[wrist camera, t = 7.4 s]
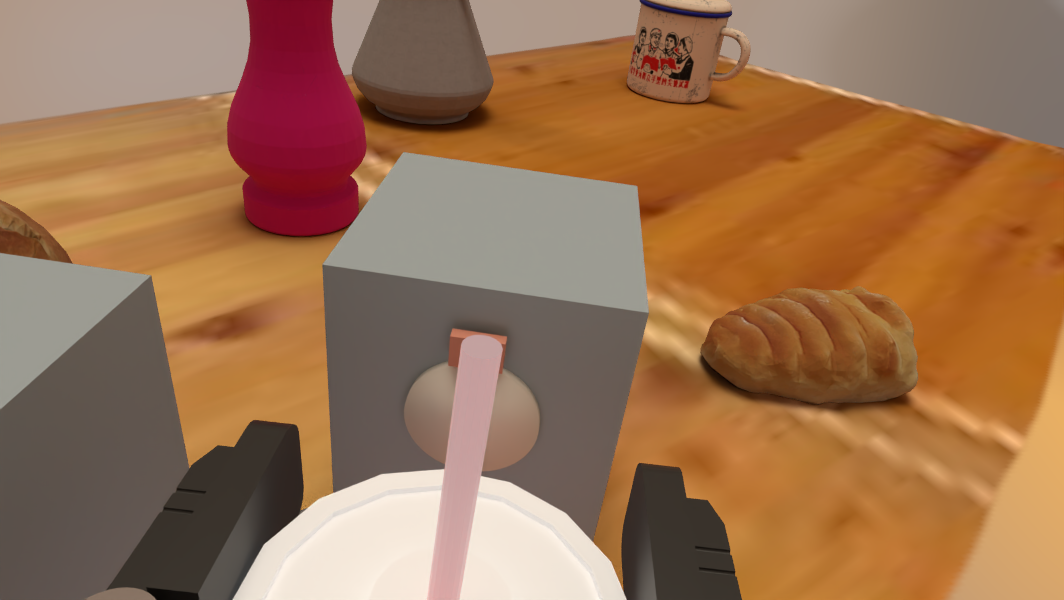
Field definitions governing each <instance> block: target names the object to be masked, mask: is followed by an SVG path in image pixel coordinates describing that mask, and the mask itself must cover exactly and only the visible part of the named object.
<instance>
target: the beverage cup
mask: <svg viewBox="0 0 1064 600" xmlns="http://www.w3.org/2000/svg"><path fill="white" fill-rule="evenodd" d="M502 350H503V348H502V345H501V343H500V342H498V341H497V340H496V339H494V338H492V337H490V336H486V335H472V336H469V337H467V338H465V339H464V340H463V341H462V344H461V350H460V357H459V365H458V372H457V379H456V387H455V394H454V402H453V409H452V417H451V424H450V432H449V439H448V447H447V454H446V462H445V469H440V470H427V471H414V472H402V473H389V474H381V475H378V476H376V477H373V478H371V479H368V480H366V481H363V482H361V483H358V484H355V485H353V486H350V487H348V488H345V489H343V490H340V491H338V492H335V493H333V494H330V495H327V496H325V497H322V498H320V499H318V500H317V501H316V502H314V503H313V504H312V505H311V506H310V507H308V508H307V509H306V510H305V511H304V512H302V513H301V514H300V515H299V516H298V517H296V518H295V519H294V520H293V521H292V522H290V523H289V524H288V525H287V526H286V527H284V528H283V529H282V530H281V531H280V532H278V533H277V534H276V535H275V536H274V537H272V538H271V539H270V540H269V541H268V542H266V543H265V544H264V545H263V547H262V549H261V551H260V552H259V554H258V556H257V558H256V559H255V561H254V563H253V565H252V566H251V568H250V570H249V572H248V573H247V575H246V577H245V579H244V581H243V582H242V584H241V586H240V588H239V589H238V591H237V593H236V595H235V596H234V598H233V600H627V599H626V597H625V594H624V592H623V590H622V587H621V585H620V582H619V580H618V578H617V575H616V573H615V570H614V568H613V566H612V563H611V561H610V560H609V559H608V558H607V557H606V556H605V555H604V554H603V553H602V552H601V550H600V549H599V548H598V547H597V546H596V545H595V544H594V543H593V542H592V541H591V540H590V539H589V538H588V536H587V535H586V534H585V533H584V532H583V531H582V530H581V529H580V528H579V527H578V526H577V525H576V524H575V522H574V521H573V520H572V519H571V518H570V517H569V516H568V515H567V514H566V513H565V512H563V511H561V510H559V509H557V508H556V507H554V506H552V505H550V504H548V503H547V502H545V501H543V500H541V499H539V498H538V497H536V496H534V495H532V494H530V493H528V492H527V491H525V490H523V489H521V488H519V487H518V486H516V485H514V484H512V483H510V482H506V481H502V480H497V479H492V478H488V477H483V476H481V472H482V467H483V461H484V455H485V449H486V443H487V437H488V432H489V426H490V420H491V414H492V408H493V403H494V397H495V391H496V385H497V379H498V374H499V368H500V362H501V356H502Z"/></svg>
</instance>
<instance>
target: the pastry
mask: <svg viewBox="0 0 1064 600" xmlns="http://www.w3.org/2000/svg"><path fill="white" fill-rule="evenodd" d="M913 336H914V330H913V326H912V323H911V322H910V320H909V318H908V317H907V316H906V314H905V313H904V311H903V310H902V309H901V308H900V307H899V306H898V305H897V304H896V303H895V302H894V301H893V300H892V299H891V298H889V297H887V296H885V295H881V294H874V293H870V292H868V291H867V290H866V289H865V288H862V287H859V286H858V287H855V288H853V289H852V290H841V291H836V290H817V289H805V288H795V289H787V290H784V291H782V292H781V293H779V294H778V295H775V296H772V297H769V298H765V299H762V300H759V301H757V302H756V303H753V304H748V305H745V306H743V307H741V308H739V309H737V310H734V311H730V312H728V313H727V314H726V315H725V316H724V317H722V318H718V319H716V320H715V321H714V322H713V323H712V325H711V327H710V329H709V332H708V335H707V338H706V340H705V342H704V343H703V344H702V347H701V354H702V355H703V356H704V358H705V360H706V361H707V362H708V364H709V365H710V366H711V367H712V368H713V369H714V370H716V371H717V372H718V373H719V374H721V375H722V376H723V377H724V378H726V379H727V380H728V381H730V382H731V383H733V384H734V385H735V386H737V387H739V388H741V389H744V390H747V391H748V392H753V393H769V394H774V395H777V396H781V397H785V398H791V399H796V400H799V401H802V402H806V403H810V404H818V405H819V404H821V403H823V402H831V403H842V402H855V403H863V402H875V401H885V400H887V399H891V398H896V397H899V396H900V395H902V394H905V393H907V392H910V391H911V390H912V389H913V388H914V387H915V386H916V384H917V380H918V373H917V370H916V362H917V358H918V357H917V353H916V350H915V347H914V344H913Z"/></svg>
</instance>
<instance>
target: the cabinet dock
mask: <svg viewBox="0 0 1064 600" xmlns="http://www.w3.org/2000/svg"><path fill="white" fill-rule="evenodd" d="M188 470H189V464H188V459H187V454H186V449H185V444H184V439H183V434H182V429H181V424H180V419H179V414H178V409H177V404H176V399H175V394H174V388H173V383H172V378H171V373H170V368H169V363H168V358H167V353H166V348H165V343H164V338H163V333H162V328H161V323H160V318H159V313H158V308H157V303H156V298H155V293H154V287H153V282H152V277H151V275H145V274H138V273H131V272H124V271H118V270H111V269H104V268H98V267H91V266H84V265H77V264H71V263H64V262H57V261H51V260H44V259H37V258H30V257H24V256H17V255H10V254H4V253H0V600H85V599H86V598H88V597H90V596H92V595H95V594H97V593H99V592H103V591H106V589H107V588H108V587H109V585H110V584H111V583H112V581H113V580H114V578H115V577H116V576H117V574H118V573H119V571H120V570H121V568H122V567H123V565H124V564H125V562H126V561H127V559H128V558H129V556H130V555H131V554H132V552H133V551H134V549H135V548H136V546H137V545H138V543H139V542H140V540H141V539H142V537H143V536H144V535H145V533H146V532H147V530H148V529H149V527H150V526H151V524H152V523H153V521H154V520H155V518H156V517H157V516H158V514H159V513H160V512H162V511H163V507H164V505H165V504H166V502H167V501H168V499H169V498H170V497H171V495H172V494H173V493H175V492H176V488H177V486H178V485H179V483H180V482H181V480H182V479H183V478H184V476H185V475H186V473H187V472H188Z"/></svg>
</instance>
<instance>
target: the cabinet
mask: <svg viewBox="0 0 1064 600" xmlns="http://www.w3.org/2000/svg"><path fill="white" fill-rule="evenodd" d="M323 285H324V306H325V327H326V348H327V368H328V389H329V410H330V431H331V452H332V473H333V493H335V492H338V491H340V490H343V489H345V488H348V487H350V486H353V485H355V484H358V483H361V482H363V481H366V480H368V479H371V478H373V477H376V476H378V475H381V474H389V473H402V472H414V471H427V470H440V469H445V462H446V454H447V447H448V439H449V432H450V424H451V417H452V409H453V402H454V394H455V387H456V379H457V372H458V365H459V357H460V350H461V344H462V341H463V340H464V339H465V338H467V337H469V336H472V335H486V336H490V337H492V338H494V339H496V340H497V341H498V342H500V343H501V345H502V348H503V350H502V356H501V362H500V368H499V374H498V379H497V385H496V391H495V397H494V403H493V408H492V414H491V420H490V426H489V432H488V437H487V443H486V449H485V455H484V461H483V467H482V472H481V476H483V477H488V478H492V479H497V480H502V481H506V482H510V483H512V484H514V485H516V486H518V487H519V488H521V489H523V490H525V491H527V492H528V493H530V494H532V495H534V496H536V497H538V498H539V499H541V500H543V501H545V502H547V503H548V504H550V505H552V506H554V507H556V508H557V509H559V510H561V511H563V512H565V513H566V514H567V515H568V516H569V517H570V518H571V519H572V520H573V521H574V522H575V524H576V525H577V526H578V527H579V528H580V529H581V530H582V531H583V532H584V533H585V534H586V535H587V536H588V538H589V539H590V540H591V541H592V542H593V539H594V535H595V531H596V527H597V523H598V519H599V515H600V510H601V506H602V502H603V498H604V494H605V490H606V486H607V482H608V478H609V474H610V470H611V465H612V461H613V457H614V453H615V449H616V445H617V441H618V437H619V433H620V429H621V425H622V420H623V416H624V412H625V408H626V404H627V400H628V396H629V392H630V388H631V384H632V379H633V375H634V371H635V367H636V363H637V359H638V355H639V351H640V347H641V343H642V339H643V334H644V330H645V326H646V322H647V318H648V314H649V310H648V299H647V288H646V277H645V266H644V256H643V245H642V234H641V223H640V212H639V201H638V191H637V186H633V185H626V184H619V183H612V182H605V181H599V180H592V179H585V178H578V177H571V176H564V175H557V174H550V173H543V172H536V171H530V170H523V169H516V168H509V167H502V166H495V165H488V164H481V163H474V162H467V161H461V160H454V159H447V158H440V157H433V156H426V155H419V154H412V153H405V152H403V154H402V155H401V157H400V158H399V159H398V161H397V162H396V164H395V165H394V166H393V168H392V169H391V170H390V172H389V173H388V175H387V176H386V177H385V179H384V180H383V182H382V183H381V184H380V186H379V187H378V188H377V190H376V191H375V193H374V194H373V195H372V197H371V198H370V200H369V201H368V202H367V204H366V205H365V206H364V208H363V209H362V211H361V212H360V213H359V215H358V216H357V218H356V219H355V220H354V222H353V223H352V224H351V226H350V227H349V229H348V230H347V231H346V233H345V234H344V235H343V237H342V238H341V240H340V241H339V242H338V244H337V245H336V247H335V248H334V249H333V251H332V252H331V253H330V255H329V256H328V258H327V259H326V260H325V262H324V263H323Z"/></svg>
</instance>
